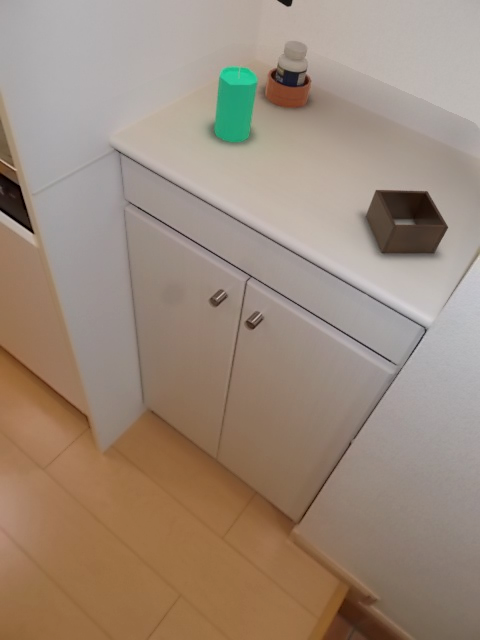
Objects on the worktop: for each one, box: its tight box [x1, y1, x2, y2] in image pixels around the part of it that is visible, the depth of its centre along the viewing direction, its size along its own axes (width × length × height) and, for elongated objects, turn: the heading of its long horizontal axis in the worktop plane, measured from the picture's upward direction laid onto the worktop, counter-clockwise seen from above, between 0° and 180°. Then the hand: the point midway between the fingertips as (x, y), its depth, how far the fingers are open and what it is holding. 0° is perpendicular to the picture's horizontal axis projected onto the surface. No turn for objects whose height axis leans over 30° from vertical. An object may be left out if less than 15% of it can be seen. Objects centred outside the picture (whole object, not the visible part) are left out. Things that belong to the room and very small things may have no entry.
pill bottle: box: [275, 40, 309, 87], centre depth 95 cm, size 5×5×10 cm
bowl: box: [264, 67, 312, 109], centre depth 98 cm, size 8×8×4 cm
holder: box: [365, 189, 449, 254], centre depth 75 cm, size 8×8×6 cm
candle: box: [213, 66, 259, 143], centre depth 84 cm, size 6×6×12 cm
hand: (305, 0), depth 86 cm, fingers open, 9 cm apart
